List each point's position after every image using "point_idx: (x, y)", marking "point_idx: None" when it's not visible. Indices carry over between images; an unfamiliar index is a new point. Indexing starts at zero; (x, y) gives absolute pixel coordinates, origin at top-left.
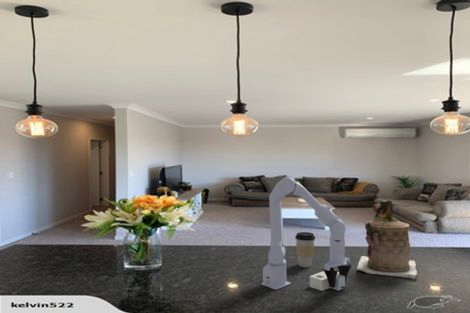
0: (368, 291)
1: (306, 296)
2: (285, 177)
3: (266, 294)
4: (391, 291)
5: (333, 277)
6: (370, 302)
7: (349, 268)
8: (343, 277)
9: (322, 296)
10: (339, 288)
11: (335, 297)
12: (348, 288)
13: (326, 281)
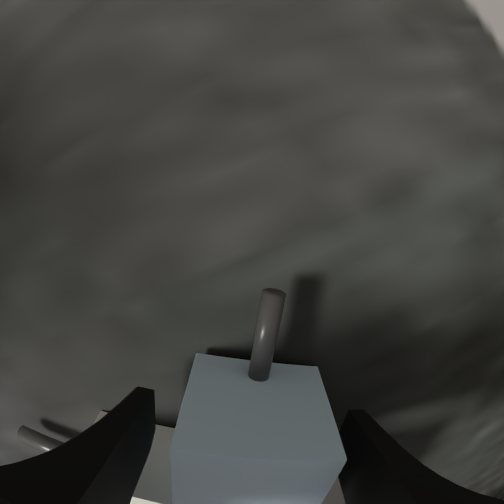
0: (105, 120)
1: (487, 428)
2: None
3: (488, 495)
4: (17, 8)
5: (444, 480)
6: (382, 11)
7: (26, 480)
8: (216, 446)
9: (469, 383)
10: (304, 376)
11: (458, 312)
12: (281, 296)
13: (335, 491)
